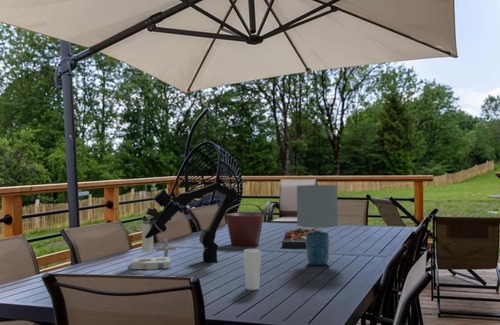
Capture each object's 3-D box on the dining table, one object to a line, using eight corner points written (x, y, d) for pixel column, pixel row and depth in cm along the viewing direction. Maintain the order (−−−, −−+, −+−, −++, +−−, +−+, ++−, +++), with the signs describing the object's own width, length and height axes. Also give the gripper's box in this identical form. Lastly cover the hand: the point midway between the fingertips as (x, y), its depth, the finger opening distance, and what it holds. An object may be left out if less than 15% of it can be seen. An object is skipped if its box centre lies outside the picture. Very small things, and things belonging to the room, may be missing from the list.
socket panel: (170, 262, 242) (170, 256, 242) (170, 268, 228) (170, 262, 228) (133, 264, 239) (133, 258, 239) (130, 270, 225) (130, 263, 225)
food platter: (325, 249, 279) (324, 231, 279) (282, 249, 282) (281, 231, 282) (323, 238, 323) (323, 222, 324) (286, 237, 327) (286, 222, 327)
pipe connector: (157, 260, 248) (157, 240, 248) (155, 256, 258) (155, 238, 258) (176, 259, 251) (176, 239, 251) (174, 255, 260) (174, 237, 260)
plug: (153, 250, 235) (153, 221, 235) (149, 251, 231) (149, 222, 231) (145, 249, 236) (145, 221, 236) (141, 251, 232) (142, 221, 232)
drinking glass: (260, 286, 191) (260, 248, 192) (261, 291, 185) (261, 251, 185) (243, 286, 191) (243, 248, 191) (243, 291, 184) (243, 251, 185)
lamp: (290, 262, 240) (290, 185, 240) (325, 259, 246) (324, 184, 247) (309, 269, 222) (308, 187, 222) (345, 266, 228) (344, 186, 229)
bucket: (266, 242, 305) (265, 202, 305) (263, 248, 283) (263, 205, 283) (227, 242, 307) (227, 202, 307) (221, 247, 285) (221, 205, 285)
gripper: (152, 200, 244) (130, 223, 240) (159, 203, 226) (135, 227, 222) (168, 216, 247) (146, 238, 242) (176, 219, 229) (152, 244, 225)
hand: (144, 237), depth 233 cm, fingers closed on plug, 5 cm apart
